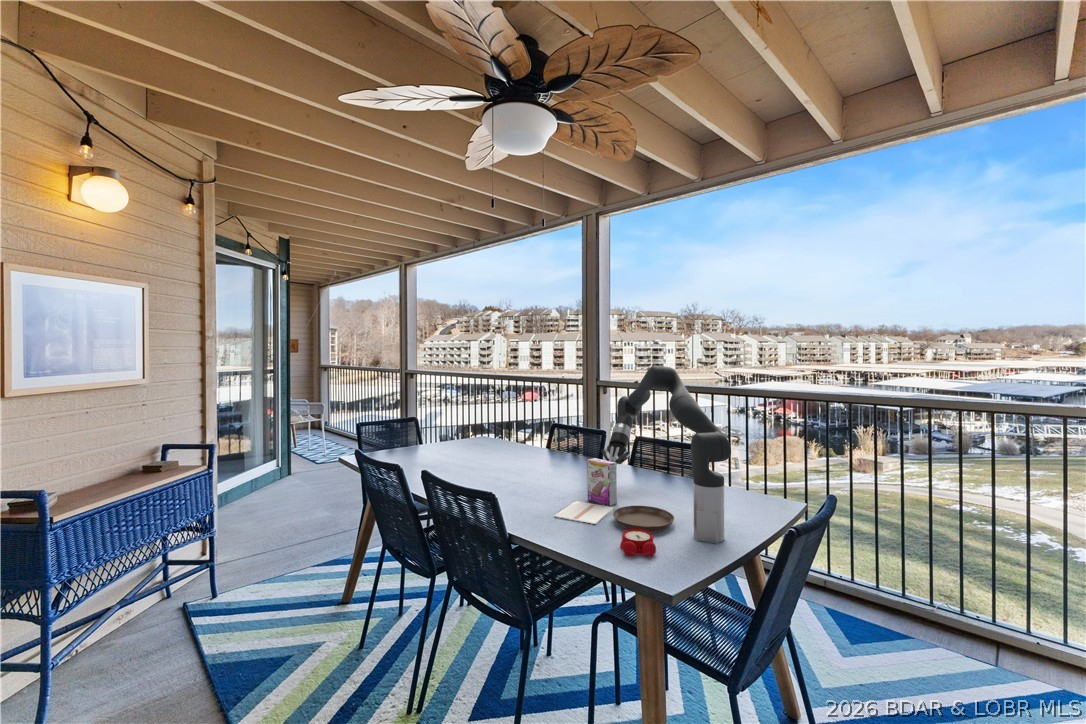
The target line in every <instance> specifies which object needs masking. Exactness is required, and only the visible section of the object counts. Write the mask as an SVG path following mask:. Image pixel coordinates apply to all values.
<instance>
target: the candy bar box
mask: <svg viewBox="0 0 1086 724" xmlns="http://www.w3.org/2000/svg"><path fill="white" fill-rule="evenodd" d="M586 464H587V466H586V467H587V469H586V470H587V471H586V473H587V501H589V500H590V502H593V501H594V502H593V503H596V502H597V504H599V503H600V504H599V505H603V504H604V505H603V506H606V505H607V506H610V507H612V506H615V505H617V503H618V500H617V499H618V497H617V494H618V492H617V490H618V489H617V465H616V463H615V462H611V461H606V459H600V458H598V457H597V458H596V457H593V458H589V459H587V461H586ZM614 504H615V505H614ZM611 505H612V506H611Z"/></svg>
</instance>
